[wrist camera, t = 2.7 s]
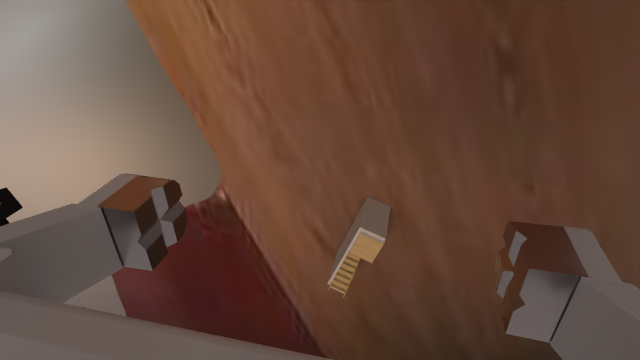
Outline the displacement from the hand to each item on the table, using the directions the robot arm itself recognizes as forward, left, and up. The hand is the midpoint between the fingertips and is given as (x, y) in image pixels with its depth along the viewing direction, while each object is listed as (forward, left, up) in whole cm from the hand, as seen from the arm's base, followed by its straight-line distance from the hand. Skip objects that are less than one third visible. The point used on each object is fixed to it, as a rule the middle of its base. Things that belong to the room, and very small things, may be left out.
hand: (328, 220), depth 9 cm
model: (+25, +11, -33) cm, 43 cm away
